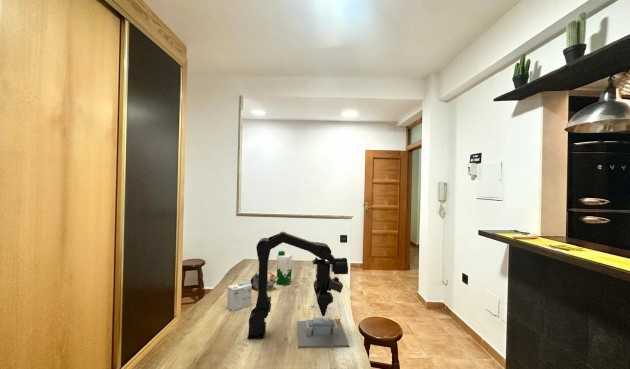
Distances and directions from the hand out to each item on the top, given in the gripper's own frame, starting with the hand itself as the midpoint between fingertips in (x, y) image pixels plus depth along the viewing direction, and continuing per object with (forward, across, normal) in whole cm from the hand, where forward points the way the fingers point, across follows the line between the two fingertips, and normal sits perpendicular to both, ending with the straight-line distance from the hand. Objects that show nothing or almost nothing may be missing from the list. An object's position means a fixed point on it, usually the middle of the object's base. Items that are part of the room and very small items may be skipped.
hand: (322, 310), depth 119 cm
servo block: (+9, 0, 0) cm, 9 cm away
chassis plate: (+10, 0, 0) cm, 10 cm away
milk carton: (+10, +62, +17) cm, 65 cm away
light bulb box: (+10, +28, +39) cm, 49 cm away
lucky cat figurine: (+10, +54, +29) cm, 62 cm away
